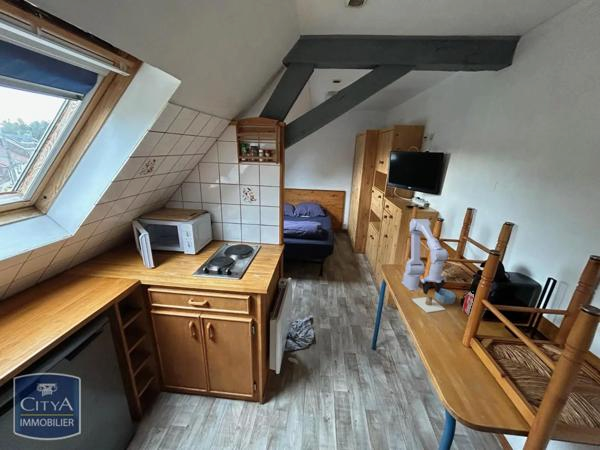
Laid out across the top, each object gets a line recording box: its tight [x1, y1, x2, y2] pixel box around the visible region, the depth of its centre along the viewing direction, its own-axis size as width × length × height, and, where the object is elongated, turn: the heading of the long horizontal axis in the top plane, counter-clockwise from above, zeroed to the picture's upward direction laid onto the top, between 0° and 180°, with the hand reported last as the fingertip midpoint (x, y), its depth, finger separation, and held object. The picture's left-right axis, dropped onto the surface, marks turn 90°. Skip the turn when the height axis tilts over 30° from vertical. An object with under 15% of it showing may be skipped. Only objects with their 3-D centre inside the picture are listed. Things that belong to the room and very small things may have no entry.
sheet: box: [411, 295, 446, 314], centre depth 136 cm, size 12×12×4 cm
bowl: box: [434, 288, 456, 305], centre depth 143 cm, size 10×10×4 cm
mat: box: [410, 298, 447, 314], centre depth 137 cm, size 13×13×1 cm
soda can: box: [462, 290, 474, 317], centre depth 129 cm, size 7×7×12 cm
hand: (430, 292), depth 135 cm, fingers open, 7 cm apart
